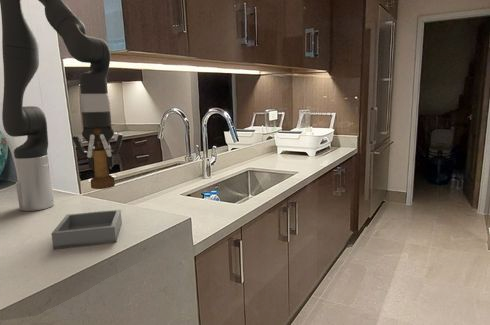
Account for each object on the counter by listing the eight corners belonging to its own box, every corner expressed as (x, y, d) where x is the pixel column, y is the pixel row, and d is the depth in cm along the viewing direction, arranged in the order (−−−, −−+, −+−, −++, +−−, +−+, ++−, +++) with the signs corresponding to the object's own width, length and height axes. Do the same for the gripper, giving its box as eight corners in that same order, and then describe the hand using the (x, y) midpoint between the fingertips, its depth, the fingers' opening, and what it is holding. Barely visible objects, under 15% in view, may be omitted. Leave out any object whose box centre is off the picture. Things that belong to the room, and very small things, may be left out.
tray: (53, 249, 81) (51, 233, 80) (68, 228, 95) (66, 214, 94) (116, 242, 84) (114, 226, 84) (121, 222, 98) (120, 209, 97)
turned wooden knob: (106, 189, 98) (100, 126, 94) (86, 188, 99) (79, 126, 96) (119, 184, 104) (114, 124, 101) (100, 183, 106) (94, 124, 102)
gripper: (123, 109, 103) (128, 165, 106) (72, 110, 99) (78, 168, 103) (121, 110, 96) (125, 170, 99) (65, 111, 92) (72, 173, 96)
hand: (101, 169), depth 101 cm, fingers closed on turned wooden knob, 4 cm apart
